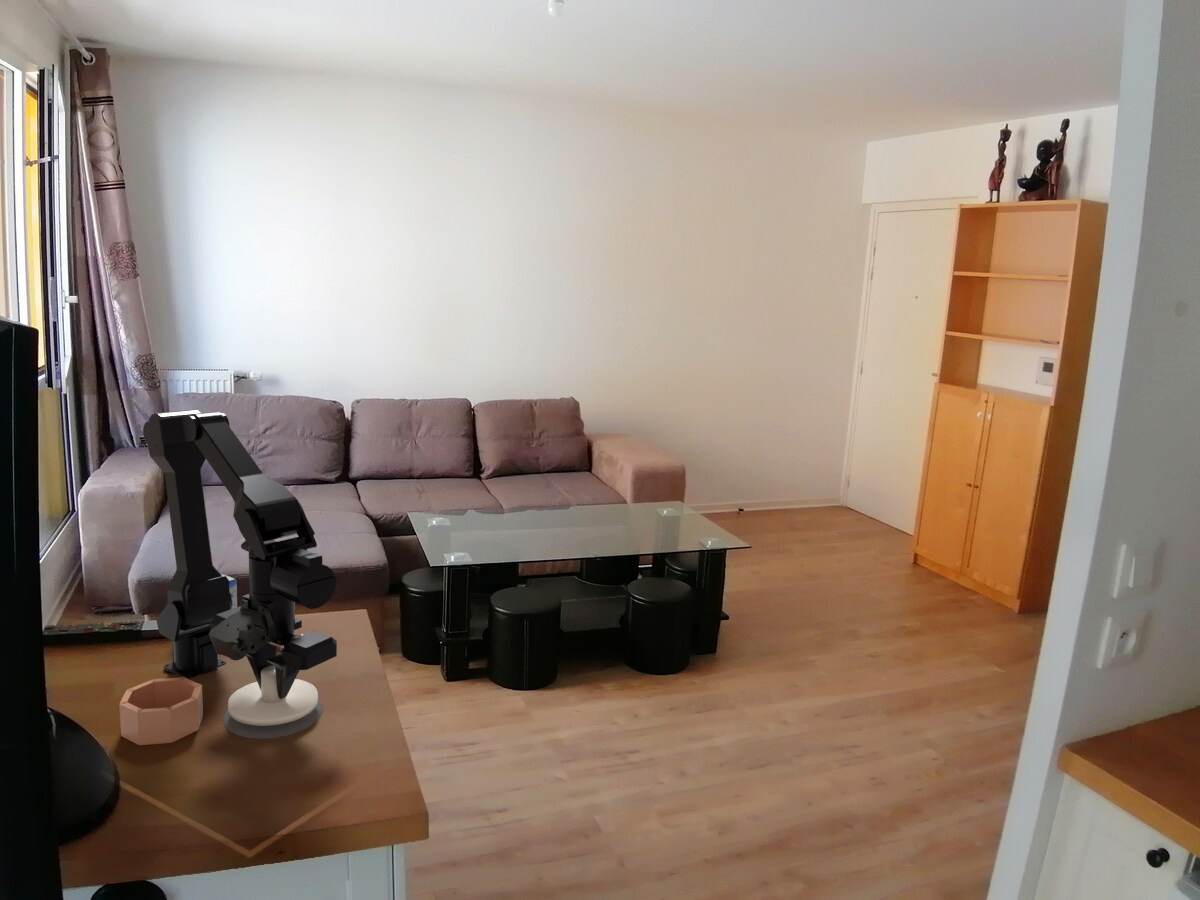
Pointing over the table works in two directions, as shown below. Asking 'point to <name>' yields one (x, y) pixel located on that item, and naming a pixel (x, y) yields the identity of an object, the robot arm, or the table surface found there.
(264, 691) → the lid
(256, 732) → the mat
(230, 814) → the table surface
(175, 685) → the bowl
